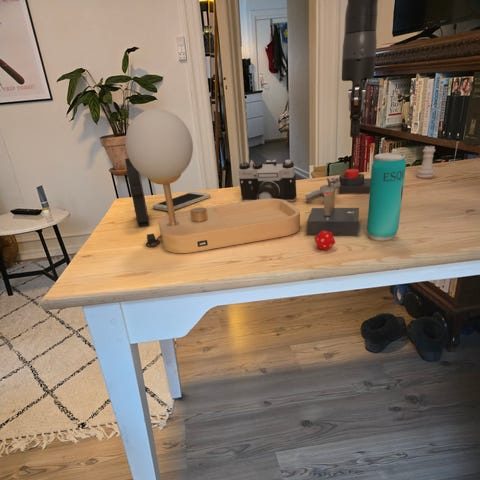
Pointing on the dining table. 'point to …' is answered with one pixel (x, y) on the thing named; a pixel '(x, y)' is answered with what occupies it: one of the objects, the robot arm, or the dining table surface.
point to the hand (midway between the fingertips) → (354, 136)
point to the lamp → (199, 219)
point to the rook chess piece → (427, 163)
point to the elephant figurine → (323, 189)
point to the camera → (267, 180)
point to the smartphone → (183, 200)
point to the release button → (352, 173)
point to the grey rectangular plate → (329, 201)
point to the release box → (354, 184)
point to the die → (324, 240)
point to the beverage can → (385, 195)
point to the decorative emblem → (137, 194)
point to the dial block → (333, 221)
